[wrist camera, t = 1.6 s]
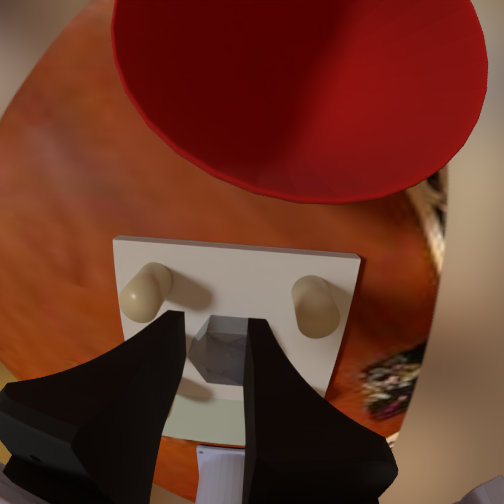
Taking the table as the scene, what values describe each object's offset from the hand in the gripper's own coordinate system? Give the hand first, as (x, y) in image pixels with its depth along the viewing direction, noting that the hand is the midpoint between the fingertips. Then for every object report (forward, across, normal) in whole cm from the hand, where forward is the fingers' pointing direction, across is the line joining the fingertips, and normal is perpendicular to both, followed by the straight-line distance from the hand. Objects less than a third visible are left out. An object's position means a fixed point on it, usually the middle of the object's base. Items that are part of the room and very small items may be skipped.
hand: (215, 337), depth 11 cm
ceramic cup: (+10, -2, -14) cm, 17 cm away
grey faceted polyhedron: (+8, 0, +6) cm, 11 cm away
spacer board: (+9, 0, +10) cm, 13 cm away
